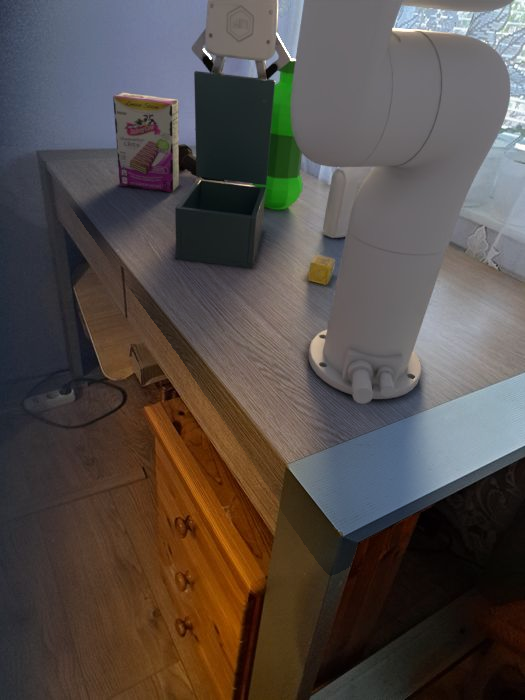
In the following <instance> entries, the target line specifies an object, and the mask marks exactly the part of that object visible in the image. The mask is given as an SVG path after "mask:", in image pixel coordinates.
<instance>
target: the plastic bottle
mask: <svg viewBox="0 0 525 700" xmlns="http://www.w3.org/2000/svg"><path fill="white" fill-rule="evenodd" d="M295 60H296V58H291V57H290V61H289V62H288V63H287V64H286V65H284V66H283V67H282V68H280V69H279V70H278V71H277V72H279V80H278V82H277V83H275V89H274V101H273V113H272V125H271V137H270V150H269V162H268V174H267V184H266V185H261V184H252V183H251V185H253V186H261V187H266V195H265V205H264V208H267V209H270V210H279V211H282V210H286V209H288V208H289V207H290V206H292V205H293V204H295V203H296V202H297V201H298V199H299V197H300V196H301V193H302V191H303V187H304V182H303V179H302V176H301V173H300V172H301V166H302V158H303V154H302V152H301V151H300V149H299V148H298V146H297V144H296V141H295V138H294V135H293V130H292V124H291V92H292V83H293V75H294V67H295Z"/></svg>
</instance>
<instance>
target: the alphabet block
mask: <svg viewBox="0 0 525 700" xmlns="http://www.w3.org/2000/svg"><path fill="white" fill-rule="evenodd" d="M335 264H336V259H335V258H332V257H329V256H325V255H320V254H315V255H314V257H313V259H312V260H311V261H310V265H309V271H308V276H307V281H310V282H313V283H317V284H320V285H324V286H327V285H328V284H329V283H330V280H331V278H332V277H333V274H334V273H333V272H334V269H335Z"/></svg>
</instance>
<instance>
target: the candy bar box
mask: <svg viewBox="0 0 525 700" xmlns="http://www.w3.org/2000/svg"><path fill="white" fill-rule="evenodd" d="M112 100H113V101H112V102H113V114H114V128H115V139H116V153H117V166H118V178H119V179H118V180H119V186H120V187H121V186H122V187H130V188H137V189H143V190H144V189H145V190H151V191H152V190H153V191H159V192H167V193H174V192H175V191H176V189H177V188H178V187H179V185H180V173H179V172H180V171H179V147H178V145H180V144H179V143H180V142H179V100H178V99H176V98H175V99H174V98H169V97H168V98H167V97H160V96H154V95H153V96H152V95H146V94H145V95H144V94H137V93H129V92H120V93H117V94H115V95H113V97H112Z"/></svg>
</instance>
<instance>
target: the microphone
mask: <svg viewBox="0 0 525 700" xmlns="http://www.w3.org/2000/svg"><path fill="white" fill-rule="evenodd" d="M178 147H179V172H180V171H187V172H190V174H191V175H192V176H194V177H196V156H195V155H194V154H193V149H192V148H190V147H189V146H188V145H187V144H186V143H182V144H178ZM200 179H203V180H211V181H219V182H226V180H219V179H211V178H203V177H200Z"/></svg>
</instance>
